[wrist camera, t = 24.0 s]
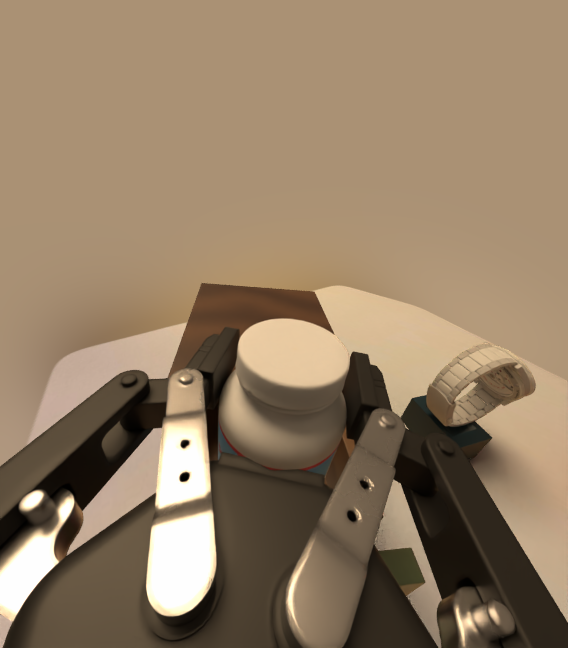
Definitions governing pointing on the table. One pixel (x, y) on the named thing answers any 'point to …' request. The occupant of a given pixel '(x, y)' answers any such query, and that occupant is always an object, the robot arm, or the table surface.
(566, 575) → the table surface
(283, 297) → the cabinet
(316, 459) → the pill bottle
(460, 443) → the watch
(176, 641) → the robot arm
